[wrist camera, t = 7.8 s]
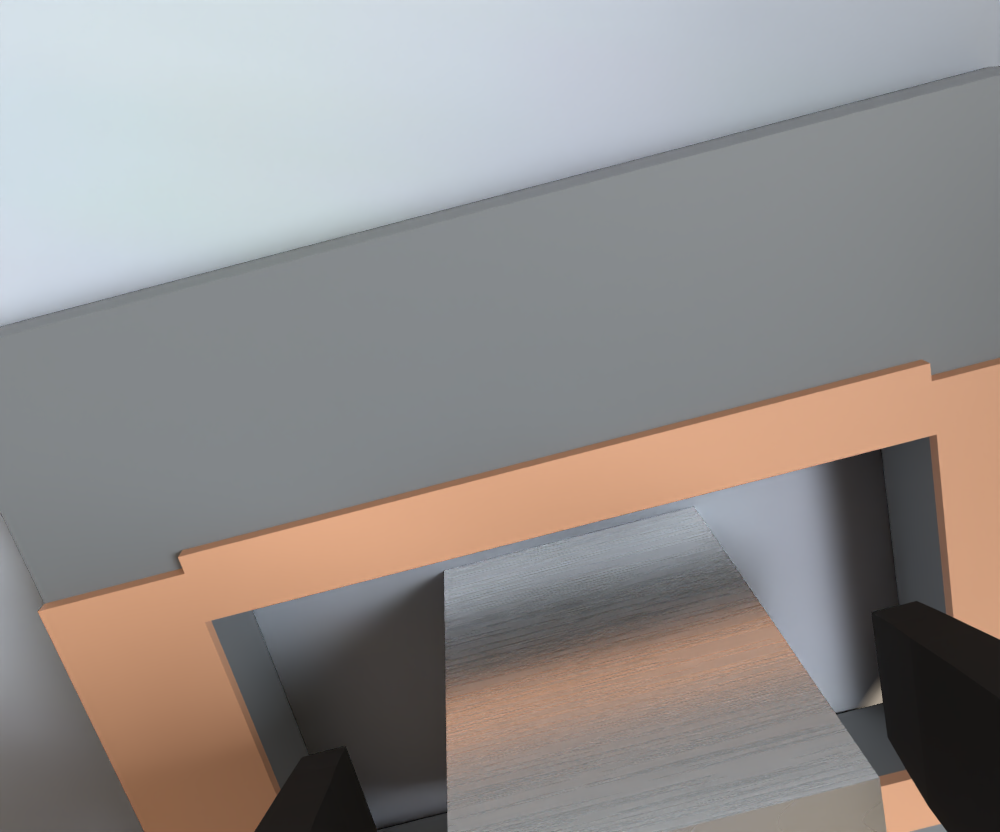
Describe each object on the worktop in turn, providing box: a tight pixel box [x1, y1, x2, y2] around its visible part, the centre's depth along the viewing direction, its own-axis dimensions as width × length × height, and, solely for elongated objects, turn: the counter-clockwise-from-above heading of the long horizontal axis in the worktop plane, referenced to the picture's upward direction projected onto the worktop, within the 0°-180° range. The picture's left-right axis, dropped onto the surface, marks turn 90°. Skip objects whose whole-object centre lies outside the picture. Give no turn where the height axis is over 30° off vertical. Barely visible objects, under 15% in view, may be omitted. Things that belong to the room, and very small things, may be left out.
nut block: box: [444, 506, 887, 832], centre depth 11 cm, size 4×4×6 cm
